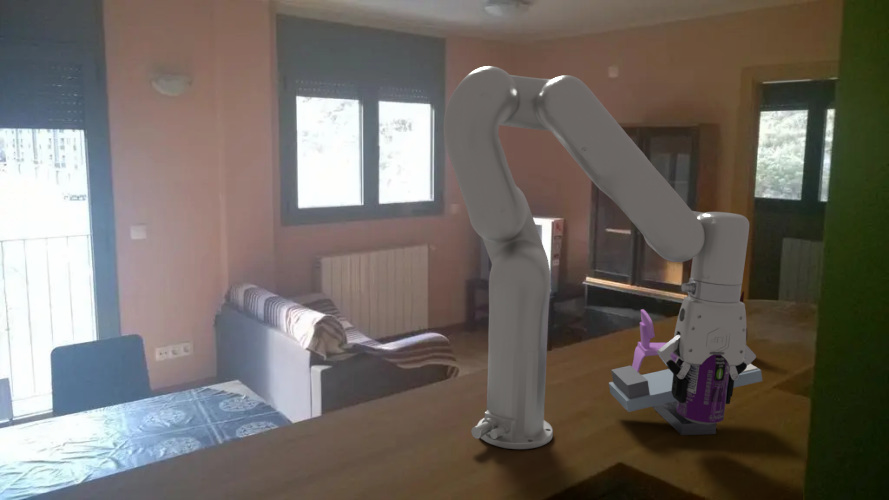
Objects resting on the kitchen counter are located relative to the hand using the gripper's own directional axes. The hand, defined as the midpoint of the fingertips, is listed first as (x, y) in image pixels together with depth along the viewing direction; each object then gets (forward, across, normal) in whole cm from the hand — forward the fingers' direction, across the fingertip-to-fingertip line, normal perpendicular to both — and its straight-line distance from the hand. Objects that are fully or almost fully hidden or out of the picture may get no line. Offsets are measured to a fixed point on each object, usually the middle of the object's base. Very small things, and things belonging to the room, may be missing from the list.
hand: (700, 399), depth 111 cm
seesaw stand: (+8, +3, +11) cm, 14 cm away
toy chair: (+8, +6, +31) cm, 32 cm away
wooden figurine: (+7, +32, +48) cm, 58 cm away
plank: (+2, +2, +11) cm, 11 cm away
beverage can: (+3, 0, 0) cm, 3 cm away
